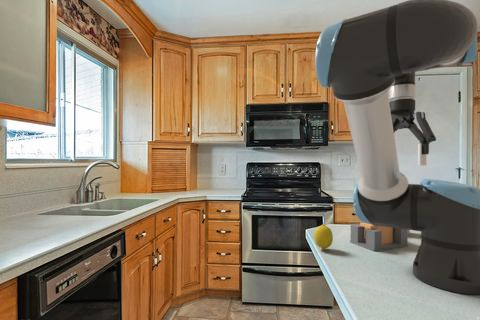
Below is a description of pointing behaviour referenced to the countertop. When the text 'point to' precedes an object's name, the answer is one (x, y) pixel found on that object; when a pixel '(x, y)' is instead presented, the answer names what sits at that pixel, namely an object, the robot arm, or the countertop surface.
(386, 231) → the block
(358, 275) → the countertop surface
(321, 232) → the lemon
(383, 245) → the grey stand
